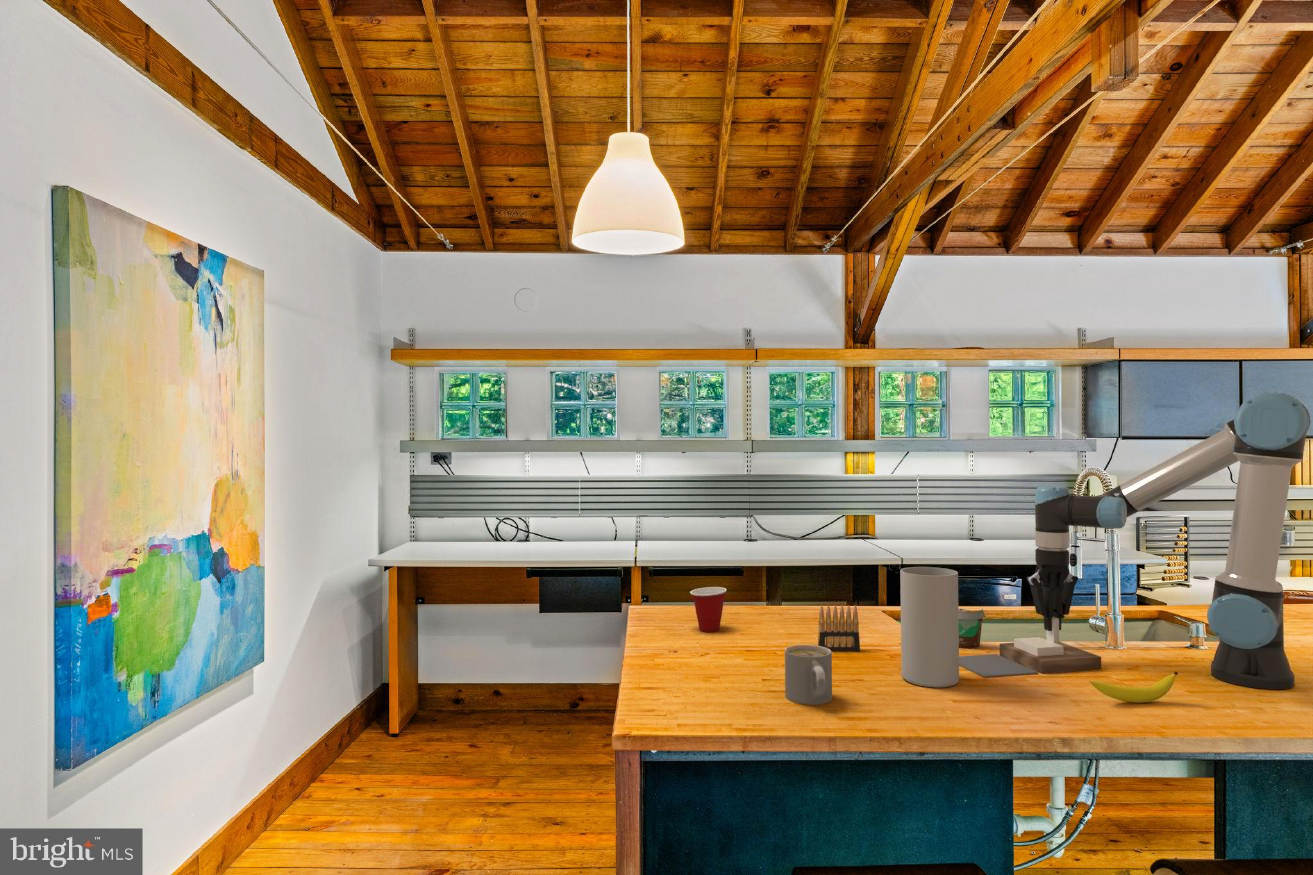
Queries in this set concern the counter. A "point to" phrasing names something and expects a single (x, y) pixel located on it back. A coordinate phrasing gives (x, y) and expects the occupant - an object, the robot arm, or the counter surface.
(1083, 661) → the walnut board
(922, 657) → the cylinder vase
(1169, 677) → the banana
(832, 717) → the counter surface
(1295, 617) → the counter surface
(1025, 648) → the ceramic tile
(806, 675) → the coffee mug
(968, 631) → the food container
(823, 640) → the ammunition clip
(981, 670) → the charcoal mat
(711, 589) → the plastic cup
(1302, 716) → the counter surface
